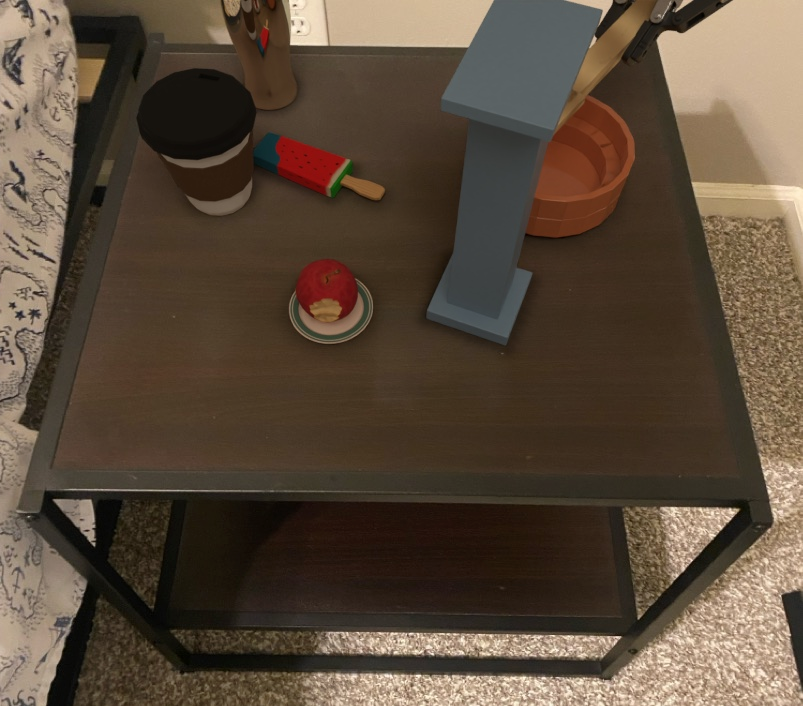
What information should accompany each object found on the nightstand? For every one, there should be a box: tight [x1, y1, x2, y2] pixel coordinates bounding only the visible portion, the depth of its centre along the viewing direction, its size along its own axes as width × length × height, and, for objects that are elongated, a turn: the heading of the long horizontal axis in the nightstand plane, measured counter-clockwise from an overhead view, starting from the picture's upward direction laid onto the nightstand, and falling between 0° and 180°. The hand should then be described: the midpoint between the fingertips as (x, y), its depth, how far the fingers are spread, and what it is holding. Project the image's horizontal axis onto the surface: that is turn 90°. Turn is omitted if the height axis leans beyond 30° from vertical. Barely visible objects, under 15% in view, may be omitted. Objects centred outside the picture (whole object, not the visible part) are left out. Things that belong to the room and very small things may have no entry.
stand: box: [425, 0, 604, 346], centre depth 57 cm, size 12×8×28 cm, turn 158°
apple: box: [288, 258, 374, 345], centre depth 65 cm, size 8×8×6 cm
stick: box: [554, 0, 658, 134], centre depth 65 cm, size 18×4×2 cm, turn 136°
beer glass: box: [219, 0, 298, 111], centre depth 76 cm, size 7×7×15 cm
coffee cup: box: [135, 67, 258, 217], centre depth 70 cm, size 11×11×12 cm
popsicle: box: [253, 132, 386, 201], centre depth 76 cm, size 4×2×15 cm
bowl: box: [525, 94, 636, 239], centre depth 74 cm, size 16×16×6 cm
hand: (612, 54), depth 67 cm, fingers closed on stick, 2 cm apart
